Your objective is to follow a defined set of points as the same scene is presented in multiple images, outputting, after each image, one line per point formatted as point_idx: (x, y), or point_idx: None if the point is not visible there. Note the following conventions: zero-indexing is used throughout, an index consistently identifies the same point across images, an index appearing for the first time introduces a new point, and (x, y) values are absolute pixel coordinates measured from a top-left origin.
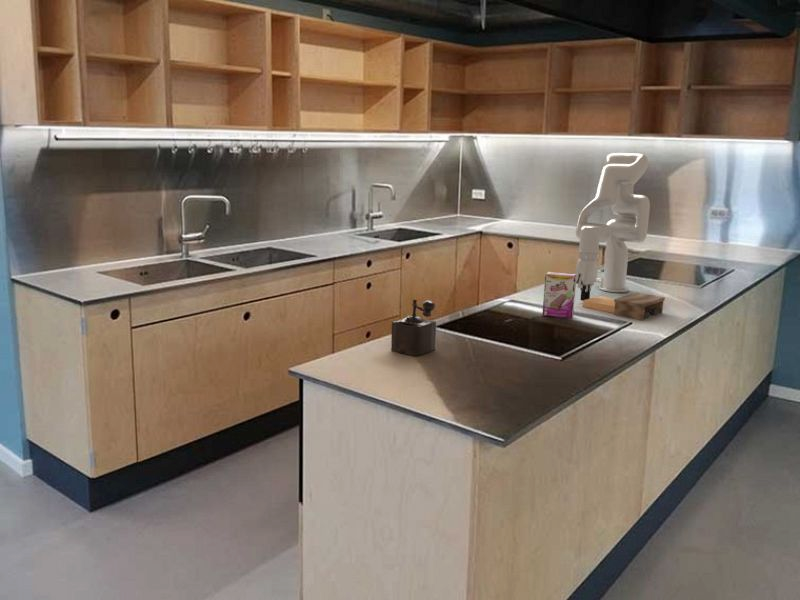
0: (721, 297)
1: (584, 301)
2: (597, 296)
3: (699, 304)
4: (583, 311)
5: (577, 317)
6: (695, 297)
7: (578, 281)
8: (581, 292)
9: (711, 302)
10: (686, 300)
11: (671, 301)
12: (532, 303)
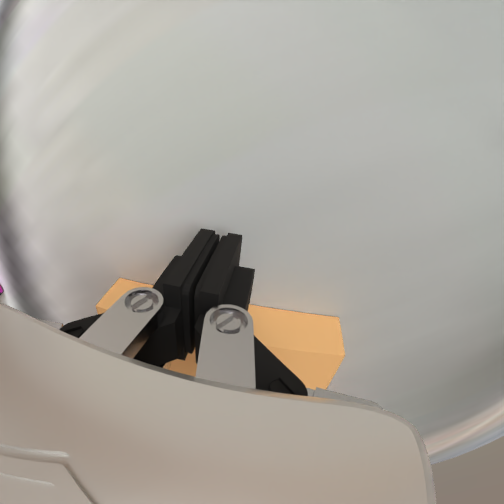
0: (494, 438)
1: (100, 310)
2: (318, 354)
3: (430, 459)
4: (60, 306)
5: (10, 306)
6: (496, 427)
7: (33, 348)
8: (172, 275)
9: (453, 454)
10: (467, 437)
11: (452, 435)
12: (11, 28)
